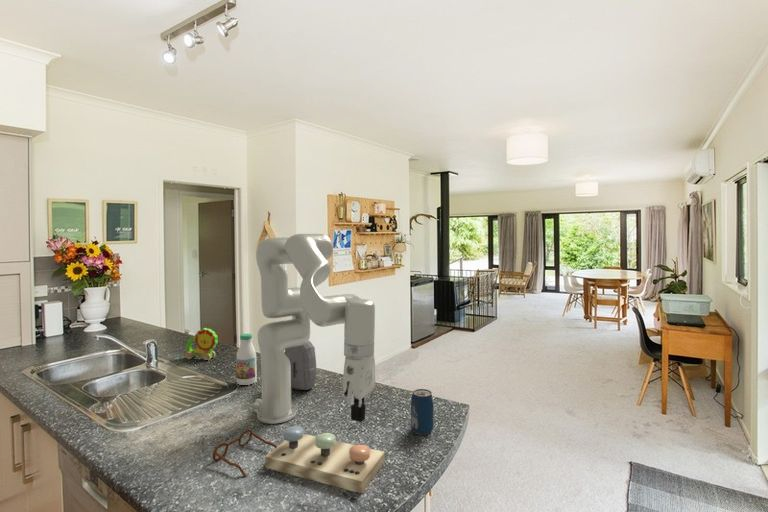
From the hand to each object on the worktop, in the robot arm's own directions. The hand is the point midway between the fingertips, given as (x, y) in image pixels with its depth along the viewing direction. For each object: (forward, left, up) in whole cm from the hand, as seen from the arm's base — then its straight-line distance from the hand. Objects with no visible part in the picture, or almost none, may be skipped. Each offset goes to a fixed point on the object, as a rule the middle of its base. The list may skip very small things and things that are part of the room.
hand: (357, 419), depth 103 cm
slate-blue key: (-19, 0, -8) cm, 21 cm away
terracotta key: (+1, 0, -9) cm, 9 cm away
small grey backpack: (-46, +42, -14) cm, 64 cm away
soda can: (+9, +28, -14) cm, 32 cm away
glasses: (-31, -5, -15) cm, 34 cm away
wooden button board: (-9, 0, -14) cm, 17 cm away
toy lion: (-111, +56, -14) cm, 125 cm away
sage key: (-9, 0, -8) cm, 12 cm away
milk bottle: (-69, +39, -14) cm, 81 cm away
